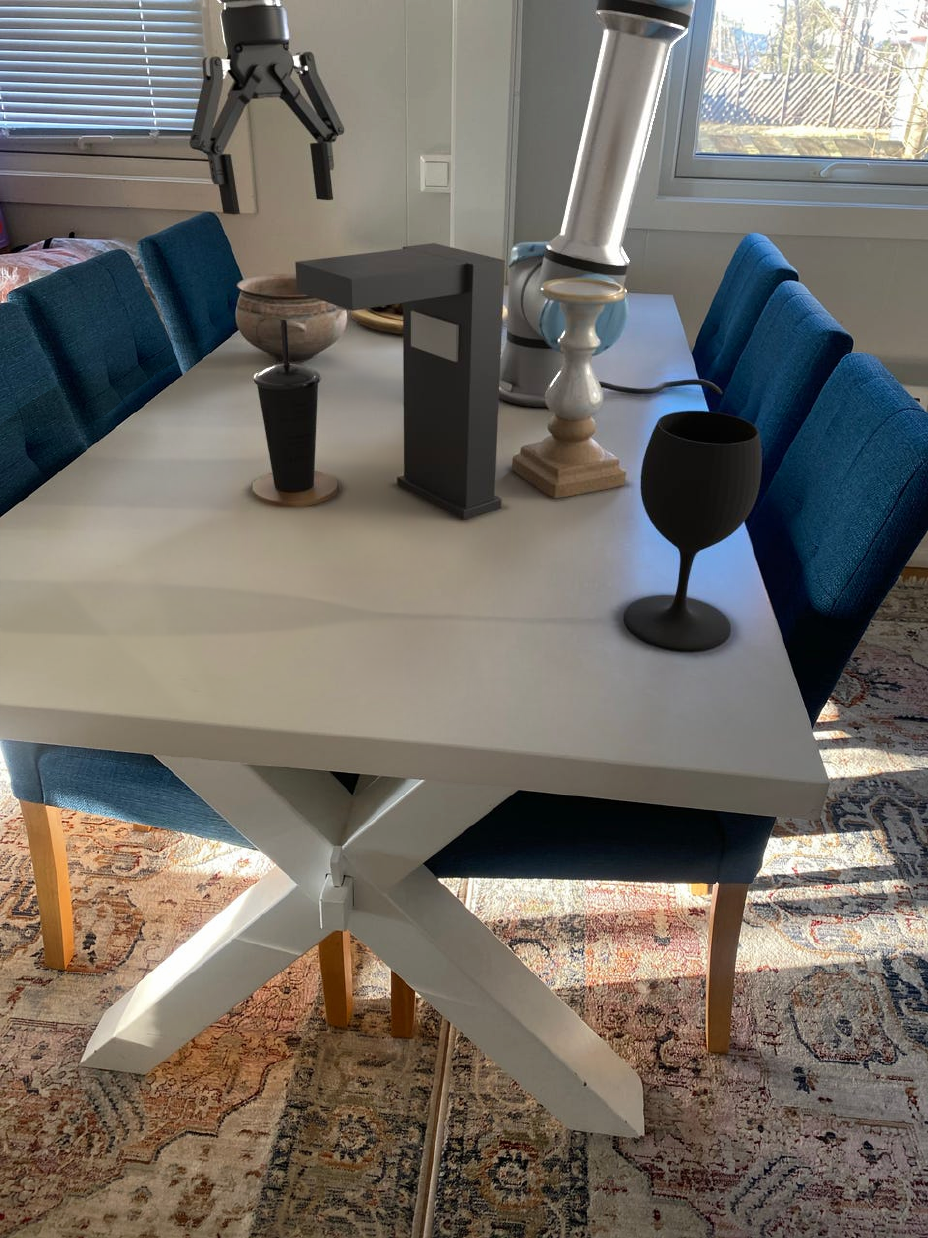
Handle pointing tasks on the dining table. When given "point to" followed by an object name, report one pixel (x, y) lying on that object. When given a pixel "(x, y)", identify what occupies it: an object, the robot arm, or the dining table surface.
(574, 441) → the candle holder
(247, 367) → the dining table surface
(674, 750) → the dining table surface
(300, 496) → the coaster
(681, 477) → the wine glass
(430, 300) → the coffee maker
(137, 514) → the dining table surface
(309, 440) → the drinking cup
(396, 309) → the wooden plate
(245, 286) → the cooking pot
